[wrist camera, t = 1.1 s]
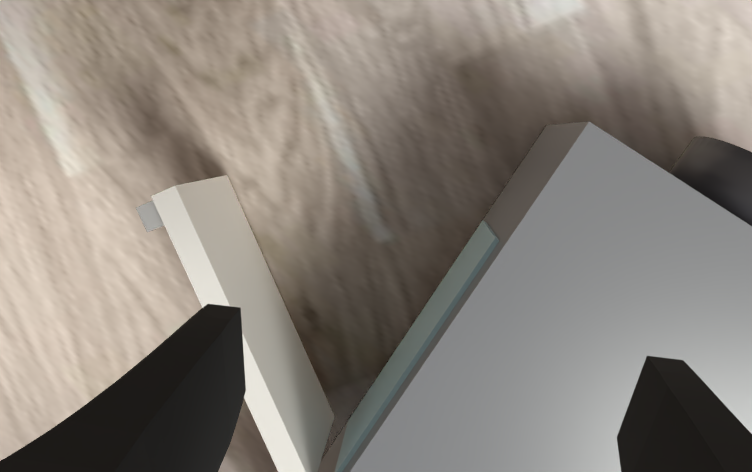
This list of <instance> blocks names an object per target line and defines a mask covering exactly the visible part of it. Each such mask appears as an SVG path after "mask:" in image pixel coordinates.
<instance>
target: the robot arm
mask: <svg viewBox="0 0 752 472" xmlns="http://www.w3.org/2000/svg"><path fill="white" fill-rule="evenodd" d="M245 392H246V385H245V369H244V353H243V337H242V321H241V308H240V307H231V306H223V305H214V304H207V305H206V306H204V307H203V308H202V309H201V310H199V311H198V312H197V313H196V314H195V315H194V316H192V317H191V318H190V319H189V320H188V321H187V322H186V323H185V324H183V325H182V326H181V327H180V328H179V329H178V330H177V331H176V332H174V333H173V334H172V335H171V336H170V337H169V338H168V339H166V340H165V341H164V342H163V343H162V344H161V345H159V346H158V347H157V348H156V349H155V350H154V351H153V352H151V353H150V354H149V355H148V356H147V357H145V358H144V359H143V360H142V361H141V362H139V363H138V364H137V365H136V366H134V367H133V368H132V369H131V370H130V371H128V372H127V373H126V374H125V375H124V376H122V377H121V378H120V379H119V380H117V381H116V382H115V383H114V384H112V385H111V386H110V387H108V388H107V389H106V390H104V391H103V392H102V393H100V394H99V395H98V396H96V397H95V398H94V399H93V400H91V401H90V402H89V403H87V404H86V405H85V406H83V407H82V408H81V409H79V410H78V411H77V412H75V413H74V414H72V415H71V416H70V417H68V418H67V419H65V420H64V421H62V422H61V423H60V424H58V425H57V426H55V427H54V428H52V429H51V430H49V431H48V432H46V433H45V434H43V435H42V436H40V437H39V438H37V439H35V440H34V441H32V442H31V443H29V444H28V445H26V446H25V447H23V448H21V449H20V450H18V451H17V452H15V453H13V454H12V455H10V456H8V457H7V458H5V459H3V460H1V461H0V472H218V470H219V468H220V465H221V463H222V461H223V458H224V456H225V454H226V451H227V449H228V447H229V444H230V442H231V439H232V436H233V432H234V429H235V426H236V423H237V419H238V416H239V413H240V409H241V406H242V402H243V399H244V395H245ZM617 443H618V451H619V459H620V466H621V472H752V434H751V433H750V432H749V430H748V429H747V428H746V427H745V426H744V425H743V424H742V423H741V422H740V421H739V420H738V419H737V418H736V416H735V415H734V414H733V413H732V412H731V411H730V410H729V409H728V408H727V407H726V406H725V405H724V403H723V402H722V401H721V400H720V399H719V398H718V397H717V396H716V395H715V394H714V392H713V391H712V390H711V389H710V388H709V387H708V386H707V385H706V384H705V383H704V382H703V380H702V379H701V378H700V377H699V376H698V375H697V374H696V373H695V372H694V371H693V370H692V369H691V368H690V367H689V366H688V365H687V364H686V363H685V361H684V360H679V359H670V358H662V357H654V356H647V357H646V360H645V362H644V365H643V368H642V370H641V373H640V376H639V379H638V381H637V384H636V387H635V389H634V392H633V395H632V397H631V400H630V403H629V405H628V408H627V411H626V414H625V416H624V419H623V422H622V424H621V427H620V430H619V432H618V435H617Z"/></svg>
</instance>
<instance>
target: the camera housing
mask: <svg viewBox="0 0 752 472" xmlns="http://www.w3.org/2000/svg"><path fill="white" fill-rule="evenodd" d="M647 356H654V357H662V358H670V359H679V360H684V361H685V363H686V364H687V365H688V366H689V367H690V368H691V369H692V370H693V371H694V372H695V373H696V374H697V375H698V376H699V377H700V378H701V379H702V380H703V382H704V383H705V384H706V385H707V386H708V387H709V388H710V389H711V390H712V391H713V392H714V394H715V395H716V396H717V397H718V398H719V399H720V400H721V401H722V402H723V403H724V405H725V406H726V407H727V408H728V409H729V410H730V411H731V412H732V413H733V414H734V415H735V416H736V418H737V419H738V420H739V421H740V422H741V423H742V424H743V425H744V426H745V427H746V428H747V429H748V430H749V432H750V433H751V434H752V152H750V151H748V150H745V149H743V148H740V147H738V146H735V145H732V144H730V143H727V142H724V141H720V140H717V139H713V138H708V137H695V138H693V140H692V141H691V142H690V144H689V145H688V147H687V148H686V149H685V151H684V152H683V154H682V155H681V156H680V158H679V159H678V161H677V162H676V163H675V165H674V166H673V167H672V169H671V170H670V172H669V173H668V172H667V171H665V170H664V169H662V168H661V167H659V166H657V165H656V164H654V163H653V162H651V161H650V160H648V159H647V158H645V157H644V156H642V155H640V154H639V153H637V152H636V151H634V150H633V149H631V148H630V147H628V146H627V145H625V144H623V143H622V142H620V141H619V140H617V139H616V138H614V137H613V136H611V135H609V134H608V133H606V132H605V131H603V130H602V129H600V128H599V127H597V126H596V125H594V124H592V123H591V122H577V123H565V124H553V125H546V127H545V128H544V130H543V131H542V132H541V134H540V135H539V137H538V138H537V140H536V141H535V143H534V144H533V146H532V147H531V149H530V150H529V152H528V153H527V155H526V156H525V158H524V159H523V161H522V162H521V164H520V165H519V167H518V168H517V170H516V171H515V173H514V174H513V176H512V177H511V179H510V180H509V182H508V183H507V185H506V186H505V188H504V189H503V191H502V192H501V194H500V195H499V197H498V198H497V200H496V201H495V203H494V204H493V206H492V207H491V208H490V210H489V211H488V213H487V214H486V216H485V217H484V219H483V220H482V222H481V223H480V225H479V226H478V228H477V229H476V231H475V232H474V234H473V235H472V237H471V238H470V240H469V241H468V243H467V244H466V246H465V247H464V249H463V250H462V252H461V253H460V255H459V256H458V258H457V259H456V261H455V262H454V264H453V265H452V267H451V268H450V269H449V271H448V272H447V274H446V275H445V277H444V278H443V280H442V281H441V283H440V284H439V286H438V287H437V289H436V290H435V292H434V293H433V295H432V296H431V298H430V299H429V301H428V302H427V304H426V305H425V307H424V308H423V310H422V311H421V313H420V314H419V316H418V317H417V319H416V320H415V322H414V323H413V325H412V326H411V328H410V329H409V331H408V332H407V334H406V335H405V337H404V338H403V340H402V341H401V343H400V344H399V345H398V347H397V348H396V350H395V351H394V353H393V354H392V356H391V357H390V359H389V360H388V362H387V363H386V365H385V366H384V368H383V369H382V371H381V372H380V374H379V375H378V377H377V378H376V380H375V381H374V383H373V384H372V386H371V387H370V389H369V390H368V392H367V393H366V395H365V396H364V398H363V399H362V401H361V402H360V404H359V405H358V407H357V408H356V410H355V411H354V413H353V414H352V416H351V417H350V419H349V420H348V422H347V423H346V425H345V426H344V428H343V429H342V431H341V432H340V434H339V435H338V437H337V438H336V439H335V441H334V442H333V444H332V445H331V447H330V448H329V450H328V451H327V453H326V454H325V456H324V457H323V459H322V460H321V462H320V466H319V469H318V472H621V466H620V459H619V451H618V443H617V435H618V432H619V430H620V427H621V424H622V422H623V419H624V416H625V414H626V411H627V408H628V405H629V403H630V400H631V397H632V395H633V392H634V389H635V387H636V384H637V381H638V379H639V376H640V373H641V370H642V368H643V365H644V362H645V360H646V357H647Z"/></svg>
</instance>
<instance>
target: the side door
mask: <svg viewBox="0 0 752 472" xmlns="http://www.w3.org/2000/svg"><path fill="white" fill-rule="evenodd" d="M151 198H152V200H153V201H150V202H148V203H146V204H143V205H141V206H139V207H136V209H137V211H138V214H139V216H140V218H141V220H142V222H143V224H144V226H145V229H146V231H147V232H149V231H152V230H155V229H158V228H161V227H164V226H165V228H166V230H167V232H168V234H169V237H170V239H171V241H172V243H173V245H174V247H175V250H176V252H177V254H178V256H179V258H180V260H181V263H182V265H183V267H184V269H185V271H186V273H187V276H188V278H189V280H190V282H191V284H192V286H193V288H194V291H195V293H196V295H197V297H198V299H199V301H200V304H201V306H202V308H203V307H204V306H206V305H207V304H214V305H223V306H231V307H240V308H241V321H242V337H243V353H244V369H245V385H246V392H245V395H244V399H245V401H246V403H247V405H248V407H249V410H250V412H251V414H252V416H253V418H254V420H255V423H256V425H257V427H258V429H259V431H260V433H261V436H262V438H263V440H264V442H265V444H266V446H267V449H268V451H269V453H270V455H271V457H272V459H273V462H274V464H275V466H276V468H277V470H278V472H318V469H319V466H320V462H321V459H322V456H323V453H324V450H325V446H326V443H327V440H328V437H329V434H330V431H331V427H332V424H333V421H334V418H335V416H334V414H333V412H332V409H331V407H330V405H329V403H328V400H327V398H326V396H325V394H324V391H323V389H322V387H321V385H320V382H319V380H318V378H317V376H316V373H315V371H314V369H313V367H312V365H311V362H310V360H309V358H308V356H307V353H306V351H305V349H304V347H303V344H302V342H301V340H300V338H299V335H298V333H297V331H296V329H295V326H294V324H293V322H292V320H291V317H290V315H289V313H288V311H287V308H286V306H285V304H284V302H283V299H282V297H281V295H280V293H279V290H278V288H277V286H276V284H275V281H274V279H273V277H272V275H271V273H270V270H269V268H268V266H267V264H266V261H265V259H264V257H263V255H262V252H261V250H260V248H259V246H258V243H257V241H256V239H255V237H254V234H253V232H252V230H251V228H250V225H249V223H248V221H247V219H246V216H245V214H244V212H243V210H242V207H241V205H240V203H239V201H238V198H237V196H236V194H235V192H234V189H233V187H232V185H231V183H230V181H229V178H228V176H227V175H225V176H220V177H215V178H210V179H205V180H200V181H195V182H190V183H185V184H180V185H175V186H173V187H171V188H168V189H166V190H164V191H161V192H159V193H157V194H155V195H152V196H151Z"/></svg>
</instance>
